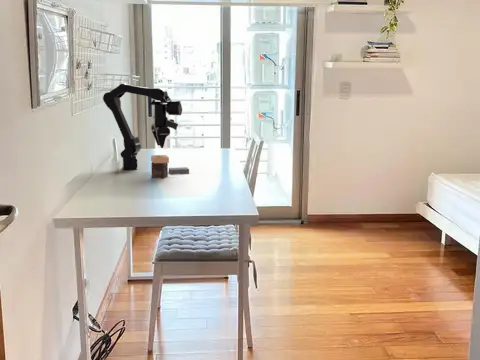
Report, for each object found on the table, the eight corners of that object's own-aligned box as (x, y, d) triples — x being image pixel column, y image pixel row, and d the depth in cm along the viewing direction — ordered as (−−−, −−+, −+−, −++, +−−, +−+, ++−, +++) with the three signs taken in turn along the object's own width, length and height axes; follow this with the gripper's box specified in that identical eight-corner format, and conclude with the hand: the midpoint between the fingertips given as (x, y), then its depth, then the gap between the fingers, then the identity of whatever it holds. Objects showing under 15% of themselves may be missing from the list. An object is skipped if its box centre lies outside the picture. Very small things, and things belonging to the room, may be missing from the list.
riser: (170, 173, 259) (170, 169, 258) (168, 171, 263) (168, 167, 263) (189, 173, 262) (189, 169, 261) (186, 171, 266) (186, 167, 266)
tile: (153, 163, 245) (153, 157, 244) (151, 160, 251) (150, 155, 251) (168, 162, 247) (168, 157, 247) (165, 160, 254) (165, 155, 253)
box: (163, 179, 247) (163, 163, 246) (151, 178, 248) (151, 162, 247) (168, 176, 253) (168, 161, 252) (155, 175, 254) (155, 160, 253)
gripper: (180, 116, 254) (180, 149, 257) (172, 112, 271) (172, 143, 274) (157, 116, 250) (157, 149, 253) (150, 112, 268) (150, 144, 271)
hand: (160, 146), depth 263 cm, fingers open, 9 cm apart
